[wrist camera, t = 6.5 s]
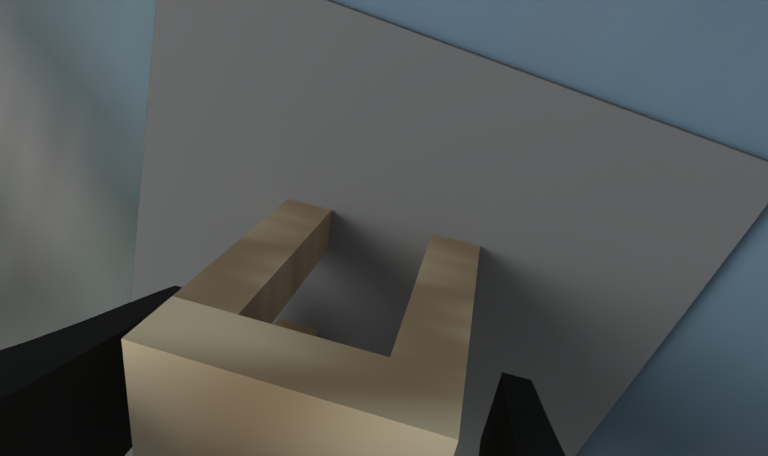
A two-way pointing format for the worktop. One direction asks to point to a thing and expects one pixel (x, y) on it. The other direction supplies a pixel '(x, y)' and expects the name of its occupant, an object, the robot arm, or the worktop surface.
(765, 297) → the worktop surface
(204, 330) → the stool
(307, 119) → the mat
